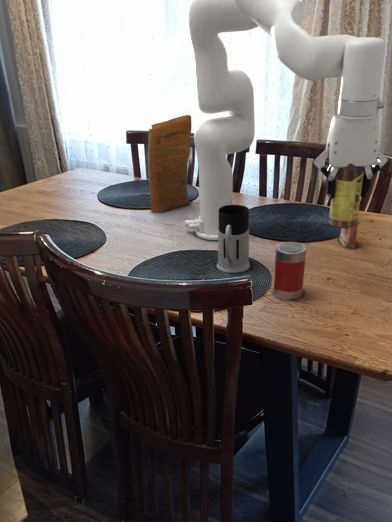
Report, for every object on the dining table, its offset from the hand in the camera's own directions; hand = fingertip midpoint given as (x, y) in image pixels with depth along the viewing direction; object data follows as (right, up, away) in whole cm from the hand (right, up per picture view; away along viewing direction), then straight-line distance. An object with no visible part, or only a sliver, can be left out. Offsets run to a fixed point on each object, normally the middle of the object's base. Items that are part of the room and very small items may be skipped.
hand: (346, 195), depth 117 cm
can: (-11, -21, +8) cm, 25 cm away
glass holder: (-24, -14, +20) cm, 34 cm away
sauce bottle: (0, -6, +4) cm, 7 cm away
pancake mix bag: (-41, +14, +62) cm, 76 cm away
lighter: (+9, -4, +32) cm, 34 cm away
